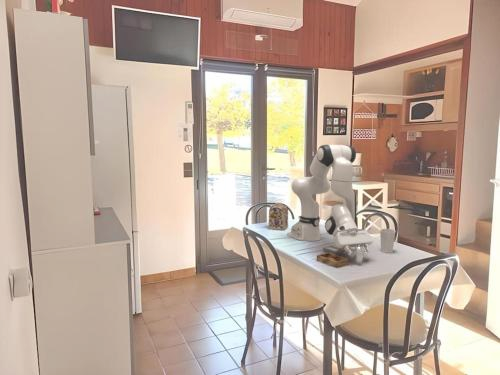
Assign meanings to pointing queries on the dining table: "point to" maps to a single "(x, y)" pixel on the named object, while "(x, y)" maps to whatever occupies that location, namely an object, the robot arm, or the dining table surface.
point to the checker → (334, 250)
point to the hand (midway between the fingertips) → (359, 253)
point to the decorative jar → (278, 217)
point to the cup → (387, 240)
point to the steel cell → (358, 255)
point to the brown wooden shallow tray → (332, 260)
